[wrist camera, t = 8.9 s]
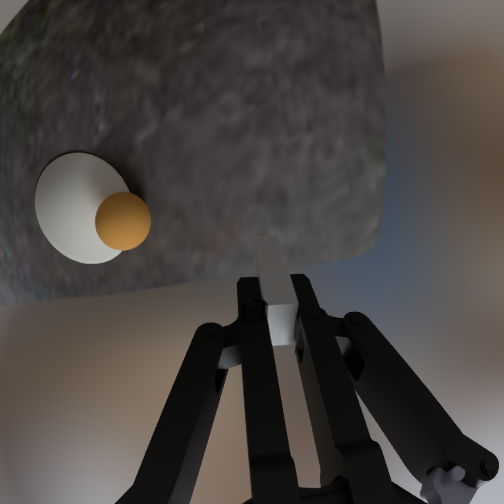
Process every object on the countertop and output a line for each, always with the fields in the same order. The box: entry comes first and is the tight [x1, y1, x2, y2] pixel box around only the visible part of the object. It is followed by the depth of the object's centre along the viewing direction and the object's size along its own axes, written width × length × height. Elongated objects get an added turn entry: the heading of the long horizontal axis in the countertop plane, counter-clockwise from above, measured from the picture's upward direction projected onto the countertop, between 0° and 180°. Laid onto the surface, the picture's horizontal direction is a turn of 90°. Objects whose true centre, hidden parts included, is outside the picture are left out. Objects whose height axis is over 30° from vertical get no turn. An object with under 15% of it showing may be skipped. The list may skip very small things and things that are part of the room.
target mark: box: [35, 153, 130, 264], centre depth 28 cm, size 13×13×1 cm
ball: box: [95, 192, 151, 250], centre depth 26 cm, size 6×6×6 cm
